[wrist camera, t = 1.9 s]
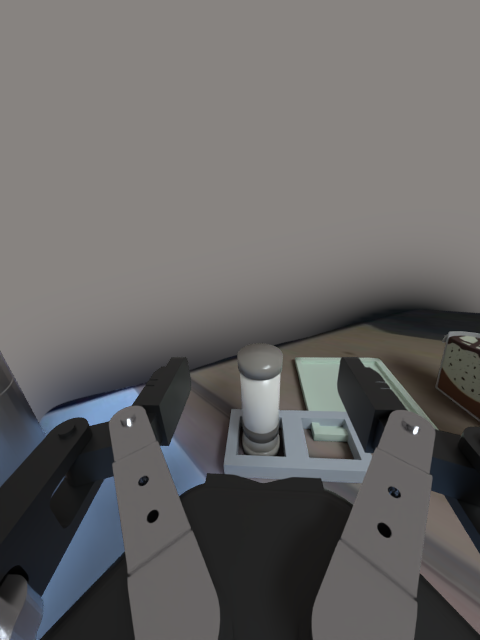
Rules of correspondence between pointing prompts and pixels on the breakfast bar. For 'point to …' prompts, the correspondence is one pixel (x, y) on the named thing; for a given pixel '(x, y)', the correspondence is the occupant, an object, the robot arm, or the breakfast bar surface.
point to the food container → (461, 371)
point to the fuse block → (297, 450)
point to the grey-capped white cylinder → (260, 398)
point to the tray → (323, 394)
